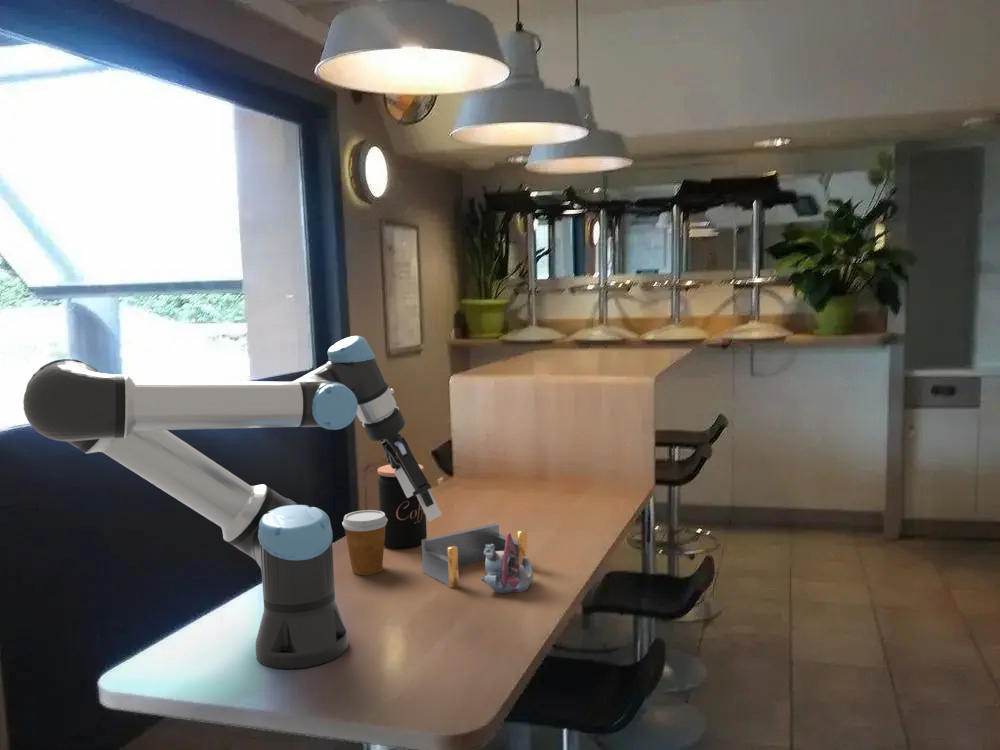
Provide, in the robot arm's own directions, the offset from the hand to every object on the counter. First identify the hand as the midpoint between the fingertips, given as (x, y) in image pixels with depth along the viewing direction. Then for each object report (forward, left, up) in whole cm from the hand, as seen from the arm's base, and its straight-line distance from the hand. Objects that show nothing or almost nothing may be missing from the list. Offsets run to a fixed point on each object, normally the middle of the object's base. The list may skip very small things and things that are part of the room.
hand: (423, 505), depth 172 cm
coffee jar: (+10, +30, -17) cm, 36 cm away
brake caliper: (+13, -9, -17) cm, 24 cm away
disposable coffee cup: (-5, +18, -17) cm, 25 cm away
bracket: (+13, +3, -17) cm, 22 cm away
